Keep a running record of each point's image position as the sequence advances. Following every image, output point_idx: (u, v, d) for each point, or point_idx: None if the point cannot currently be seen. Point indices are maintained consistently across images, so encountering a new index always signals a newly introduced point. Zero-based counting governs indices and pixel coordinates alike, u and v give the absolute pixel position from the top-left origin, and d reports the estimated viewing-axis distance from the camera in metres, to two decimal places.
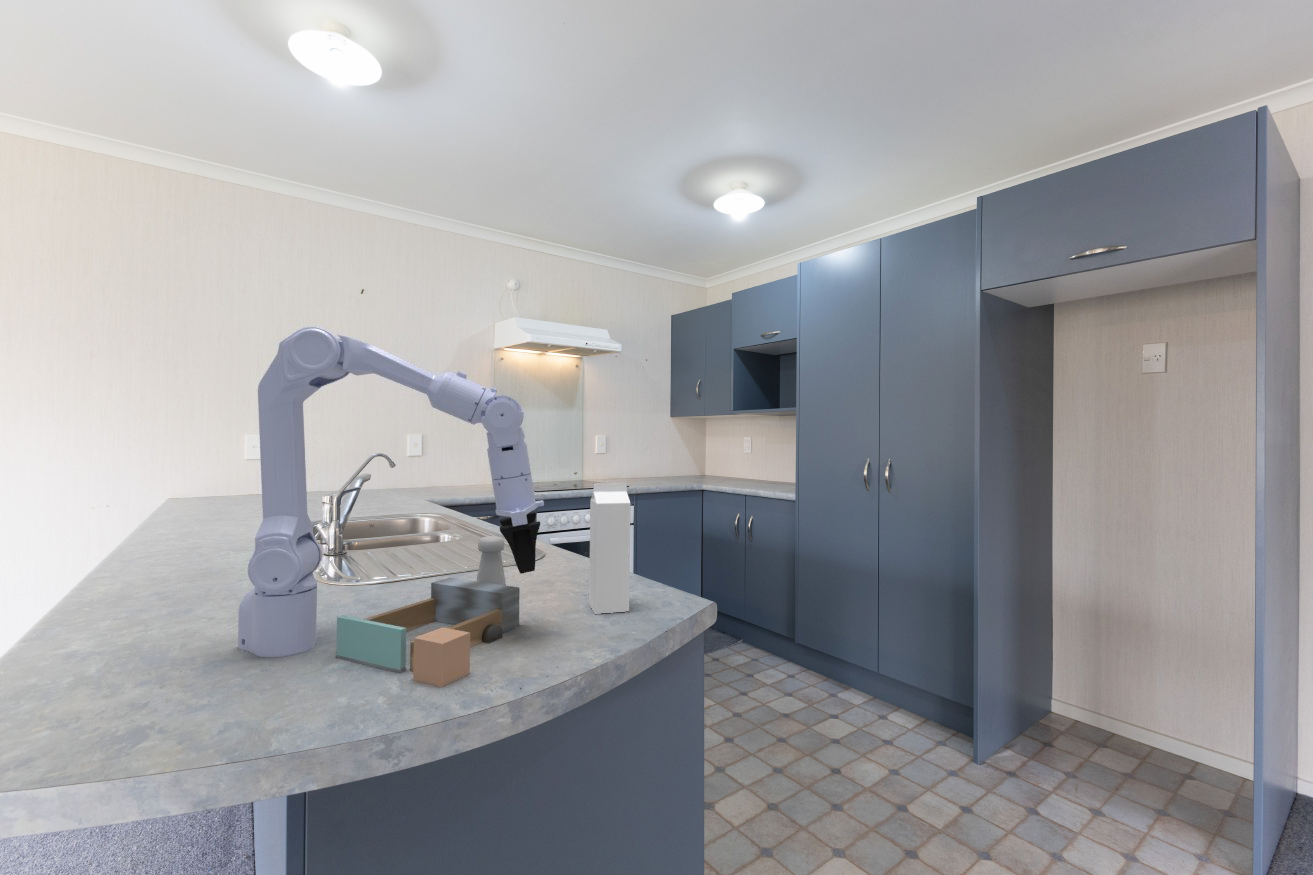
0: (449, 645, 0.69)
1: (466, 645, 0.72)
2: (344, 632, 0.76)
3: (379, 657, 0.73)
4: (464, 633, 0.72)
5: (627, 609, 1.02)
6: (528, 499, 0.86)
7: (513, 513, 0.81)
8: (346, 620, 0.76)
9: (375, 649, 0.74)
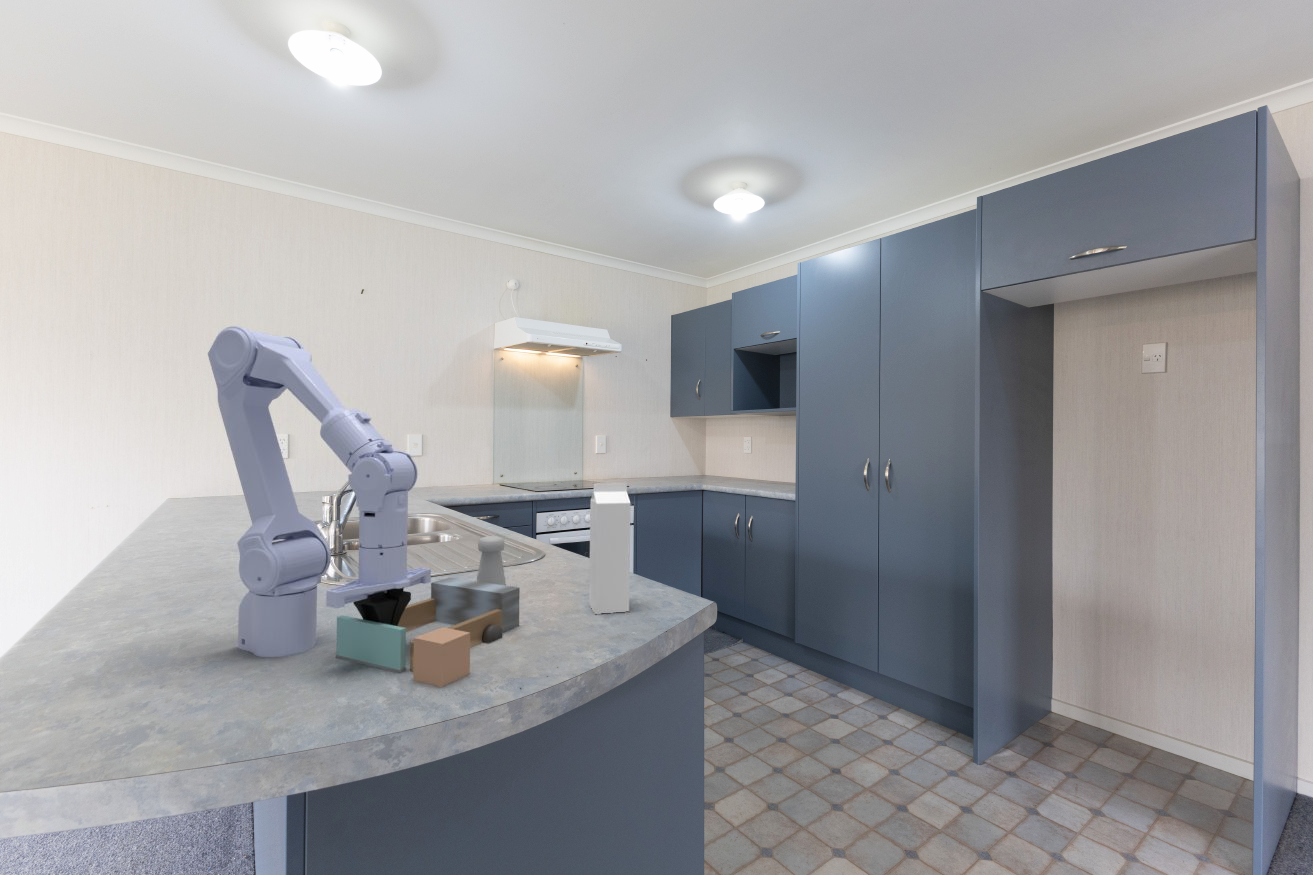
0: (449, 646, 0.69)
1: (466, 645, 0.72)
2: (344, 632, 0.76)
3: (379, 657, 0.73)
4: (464, 633, 0.72)
5: (627, 609, 1.02)
6: (378, 577, 0.74)
7: (328, 591, 0.71)
8: (346, 620, 0.76)
9: (375, 649, 0.74)
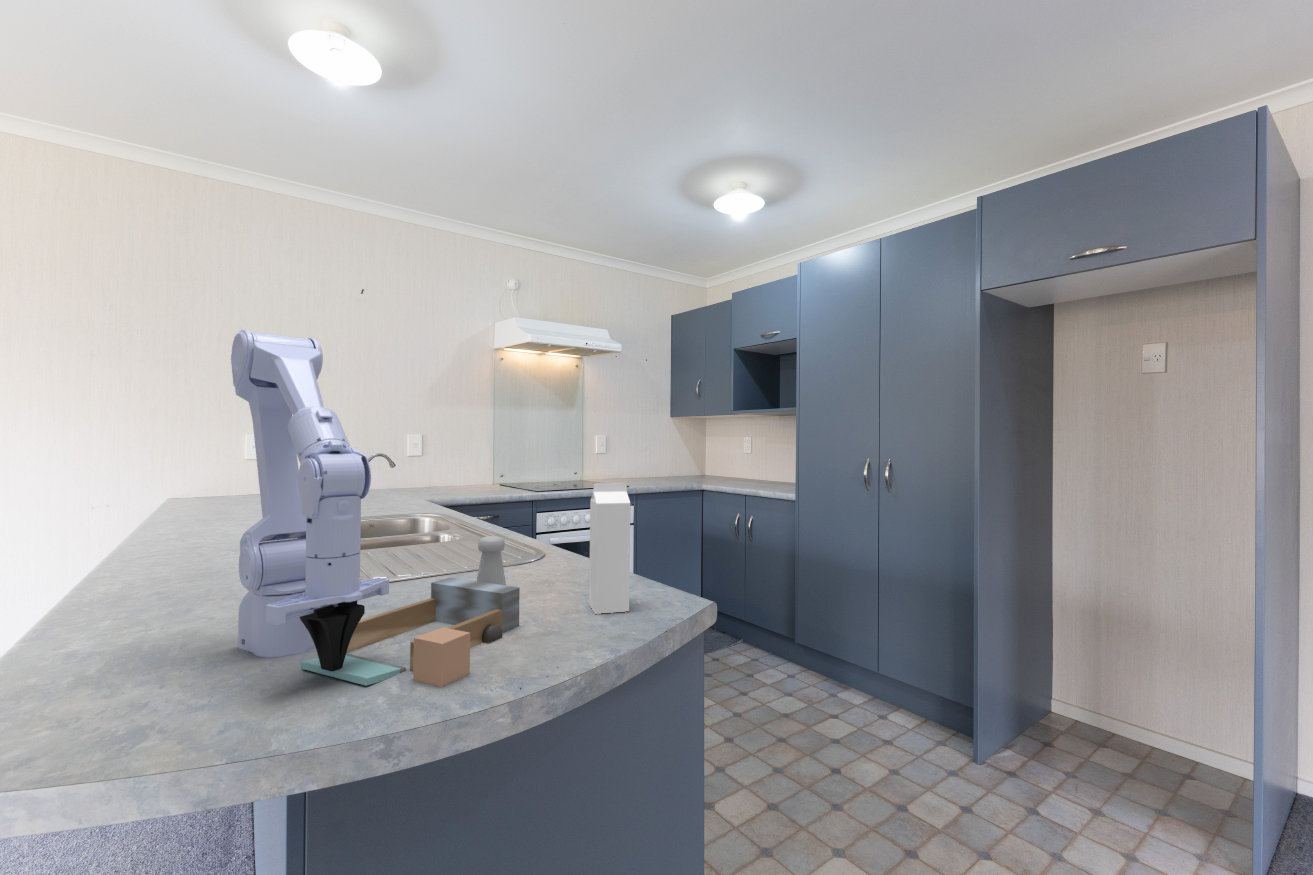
0: (449, 646, 0.69)
1: (466, 645, 0.72)
2: None
3: None
4: (464, 633, 0.72)
5: (627, 609, 1.02)
6: (326, 590, 0.68)
7: (267, 606, 0.64)
8: None
9: None
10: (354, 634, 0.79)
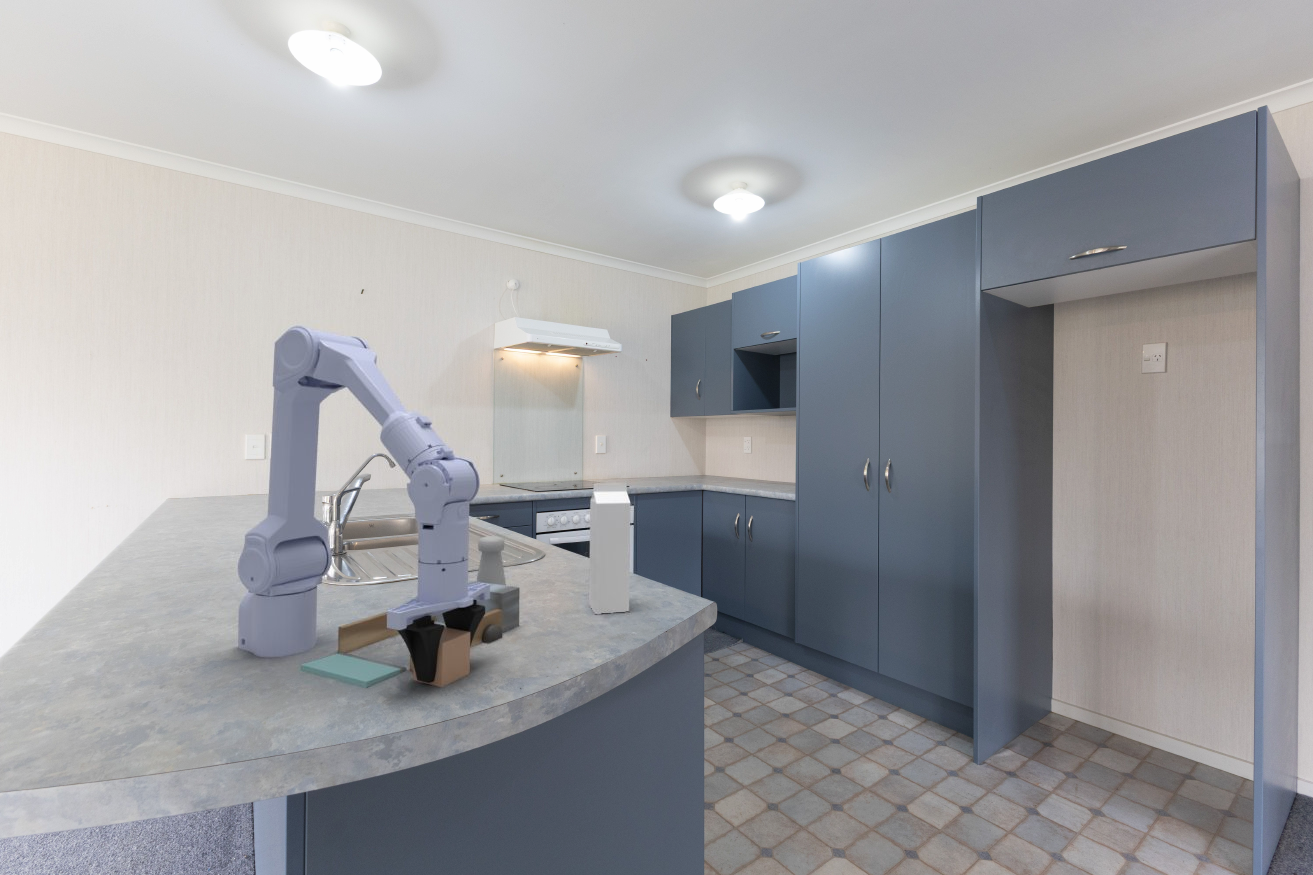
0: (449, 645, 0.69)
1: (466, 644, 0.72)
2: None
3: None
4: (464, 632, 0.72)
5: (627, 609, 1.02)
6: (440, 595, 0.68)
7: (389, 612, 0.65)
8: (312, 673, 0.72)
9: None
10: (354, 634, 0.79)
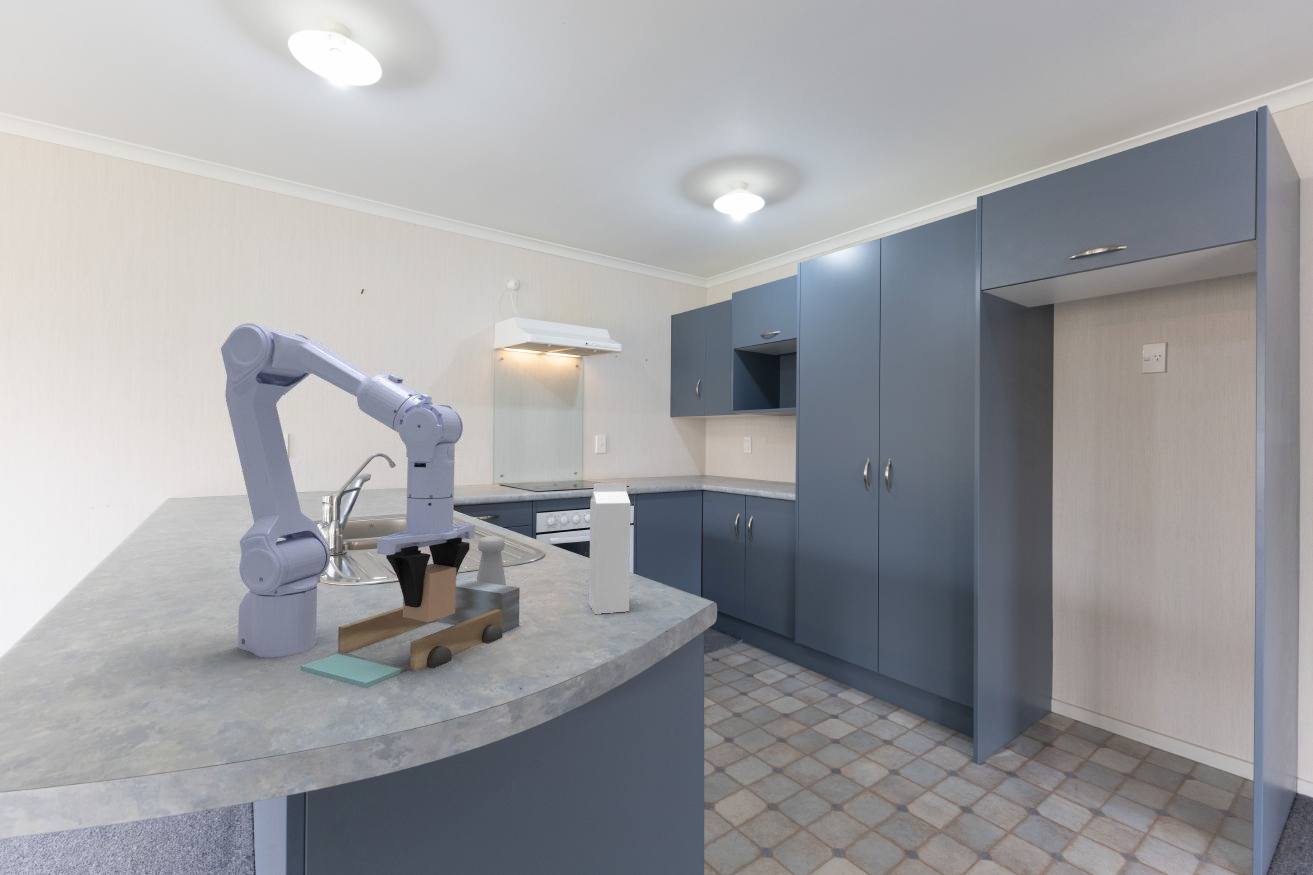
0: (435, 577, 0.75)
1: (452, 579, 0.77)
2: None
3: None
4: (451, 568, 0.78)
5: (627, 609, 1.02)
6: (427, 527, 0.74)
7: (379, 539, 0.71)
8: None
9: None
10: (354, 634, 0.79)
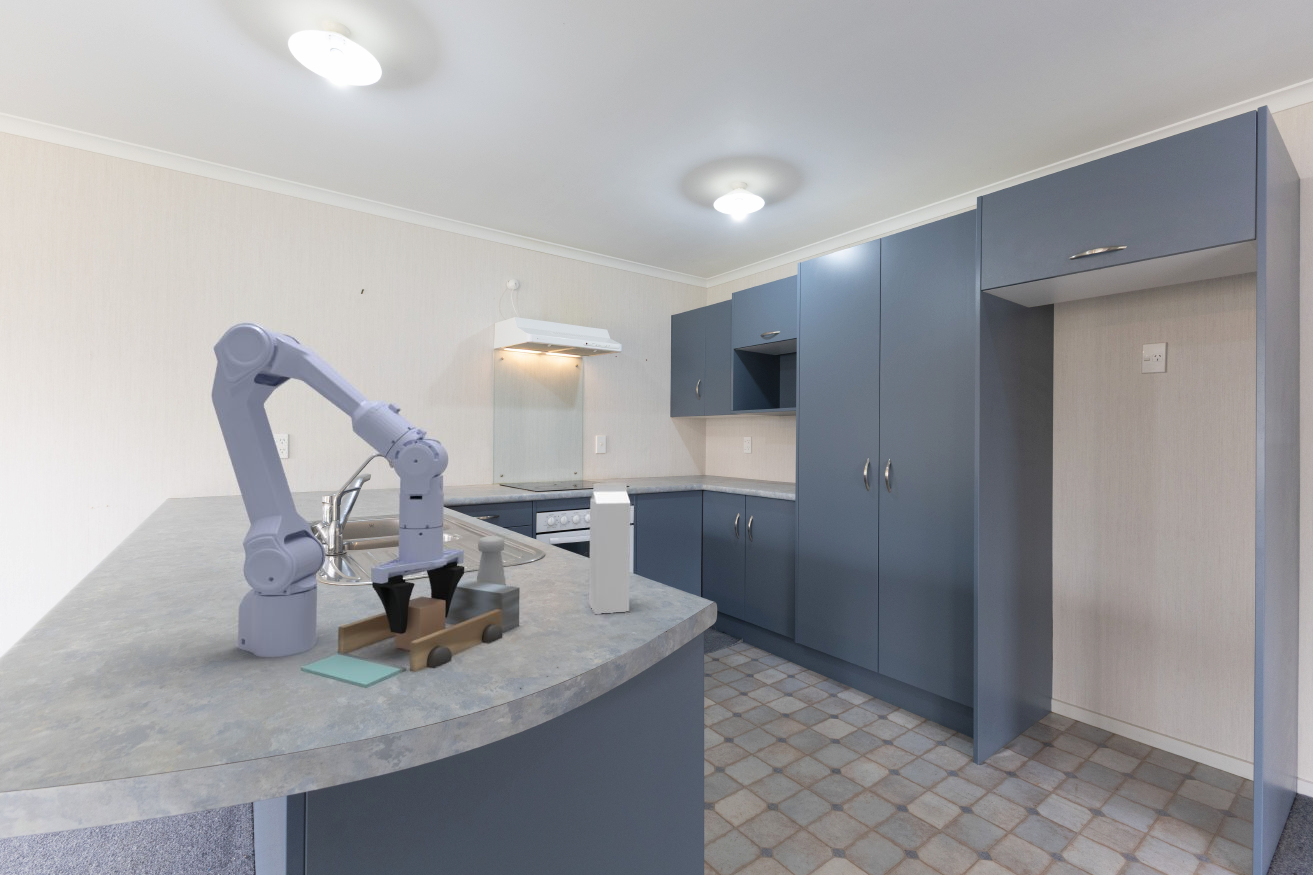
0: (425, 610, 0.80)
1: (442, 611, 0.82)
2: None
3: None
4: (440, 601, 0.83)
5: (627, 609, 1.02)
6: (418, 556, 0.79)
7: (373, 568, 0.76)
8: None
9: None
10: (354, 634, 0.79)
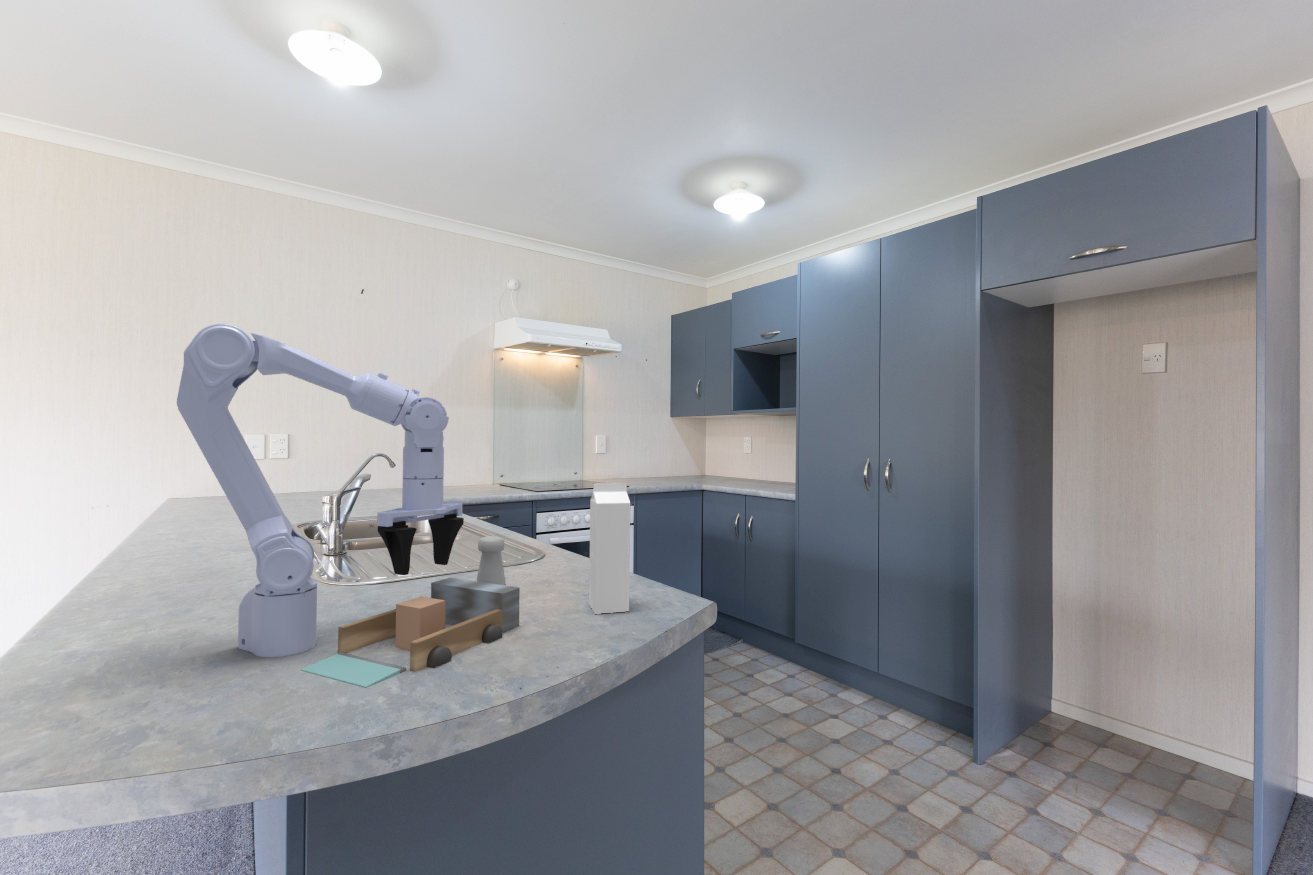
0: (425, 610, 0.80)
1: (442, 611, 0.82)
2: None
3: None
4: (440, 601, 0.83)
5: (627, 609, 1.02)
6: (420, 504, 0.86)
7: (379, 513, 0.82)
8: None
9: None
10: (354, 634, 0.79)
